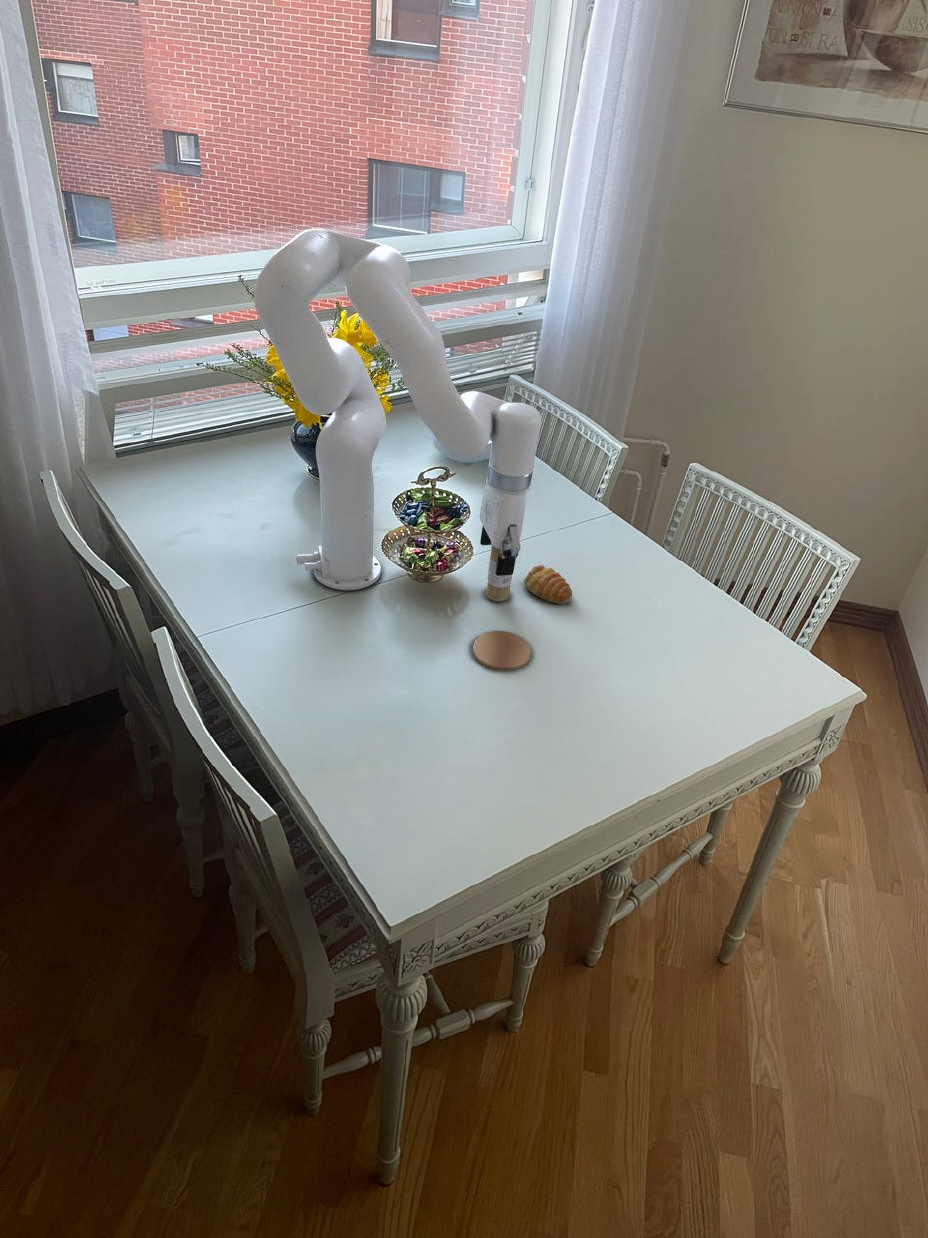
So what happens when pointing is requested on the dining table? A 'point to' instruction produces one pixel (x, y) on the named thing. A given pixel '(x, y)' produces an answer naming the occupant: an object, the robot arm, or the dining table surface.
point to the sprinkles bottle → (497, 584)
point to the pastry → (548, 585)
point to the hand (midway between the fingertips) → (496, 559)
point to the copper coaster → (501, 650)
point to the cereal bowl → (480, 457)
